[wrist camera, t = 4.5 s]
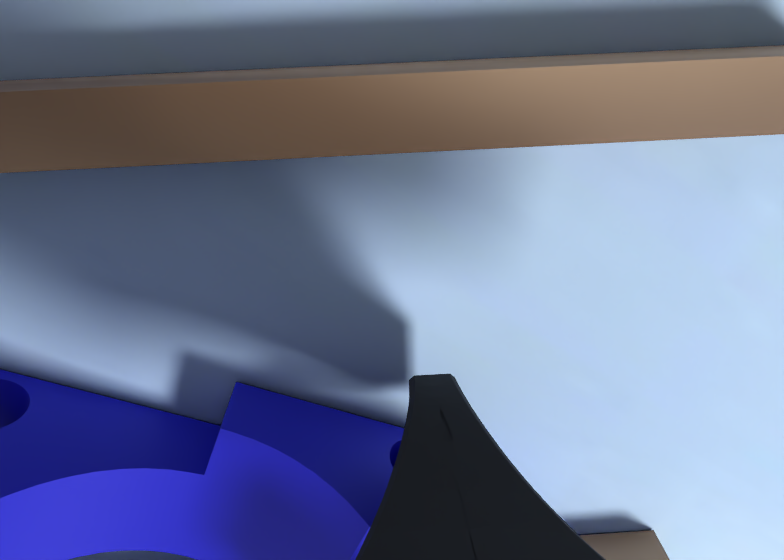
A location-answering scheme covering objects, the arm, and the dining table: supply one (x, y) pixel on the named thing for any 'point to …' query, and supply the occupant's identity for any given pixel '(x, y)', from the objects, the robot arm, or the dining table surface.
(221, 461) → the cable clip
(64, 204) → the dining table surface
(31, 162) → the guide lane
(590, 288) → the dining table surface
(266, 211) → the dining table surface
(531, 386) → the dining table surface
